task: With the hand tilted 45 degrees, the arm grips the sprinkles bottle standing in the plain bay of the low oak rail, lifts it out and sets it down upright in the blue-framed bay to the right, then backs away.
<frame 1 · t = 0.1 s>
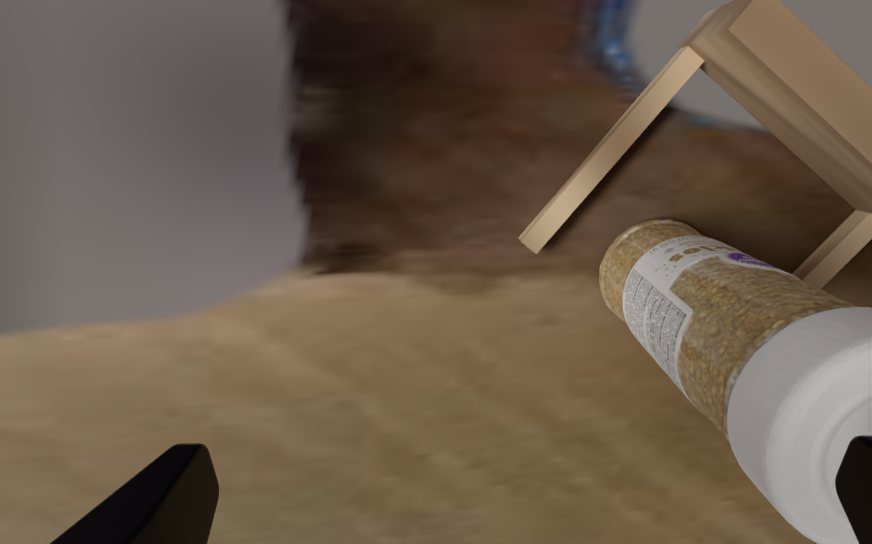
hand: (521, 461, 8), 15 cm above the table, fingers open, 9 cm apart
sprinkles bottle: (650, 272, 23), on the table
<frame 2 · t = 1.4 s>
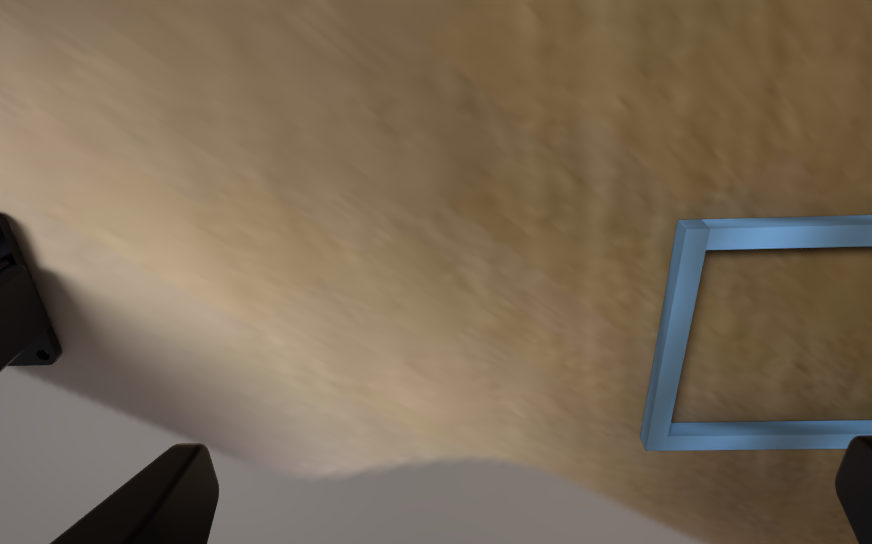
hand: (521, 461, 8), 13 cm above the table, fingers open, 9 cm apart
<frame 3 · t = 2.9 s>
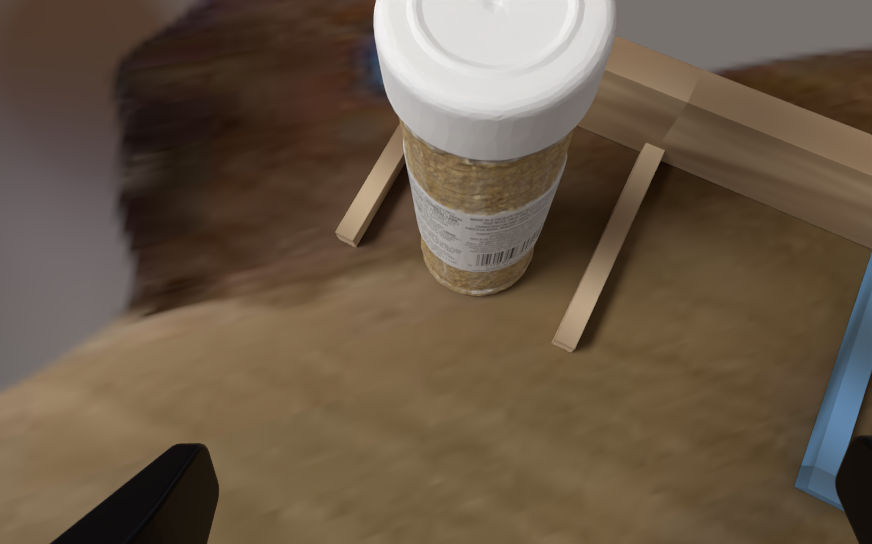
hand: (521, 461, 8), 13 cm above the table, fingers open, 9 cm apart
sprinkles bottle: (475, 247, 24), on the table
bay rail: (768, 188, 24), on the table
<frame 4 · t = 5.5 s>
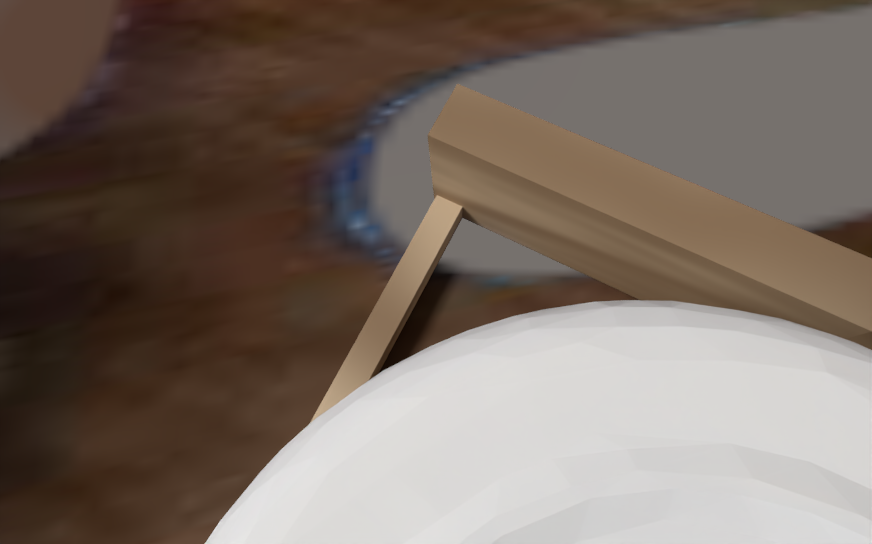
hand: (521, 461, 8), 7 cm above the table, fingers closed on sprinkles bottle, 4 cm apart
sprinkles bottle: (494, 511, 15), on the table, touching gripper
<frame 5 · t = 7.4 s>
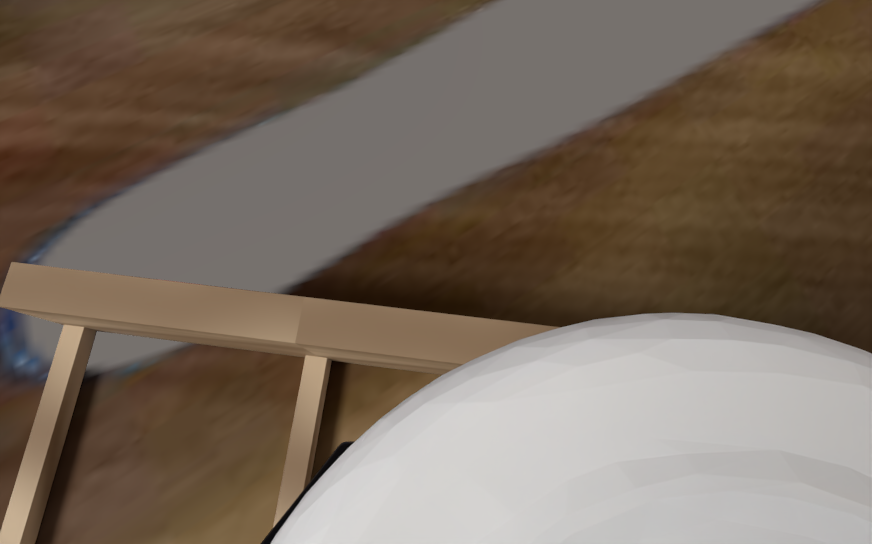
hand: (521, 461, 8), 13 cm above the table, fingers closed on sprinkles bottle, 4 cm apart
sprinkles bottle: (474, 506, 15), point 6 cm above the table, touching gripper
bay rail: (449, 355, 22), on the table
when the fingers open (8 cm above the table, at t = 9.2 s): sprinkles bottle stays where it is, on the table.
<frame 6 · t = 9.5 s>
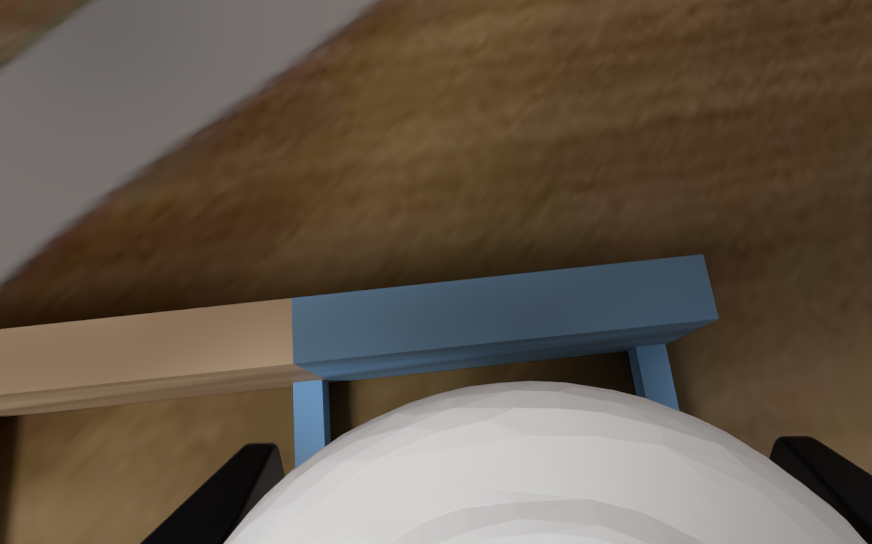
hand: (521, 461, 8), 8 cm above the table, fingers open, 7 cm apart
sprinkles bottle: (477, 513, 16), on the table
bay rail: (150, 375, 17), on the table
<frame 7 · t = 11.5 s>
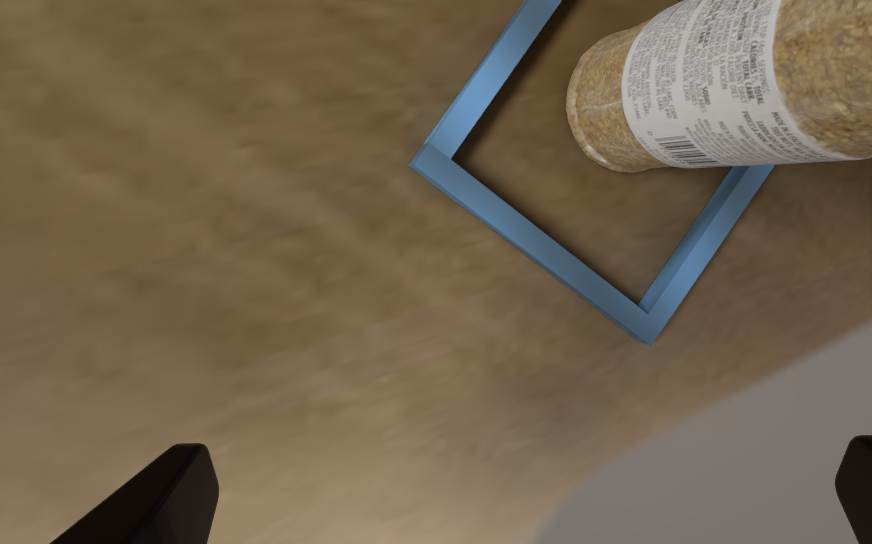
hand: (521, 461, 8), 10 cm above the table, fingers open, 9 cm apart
sprinkles bottle: (619, 105, 19), on the table
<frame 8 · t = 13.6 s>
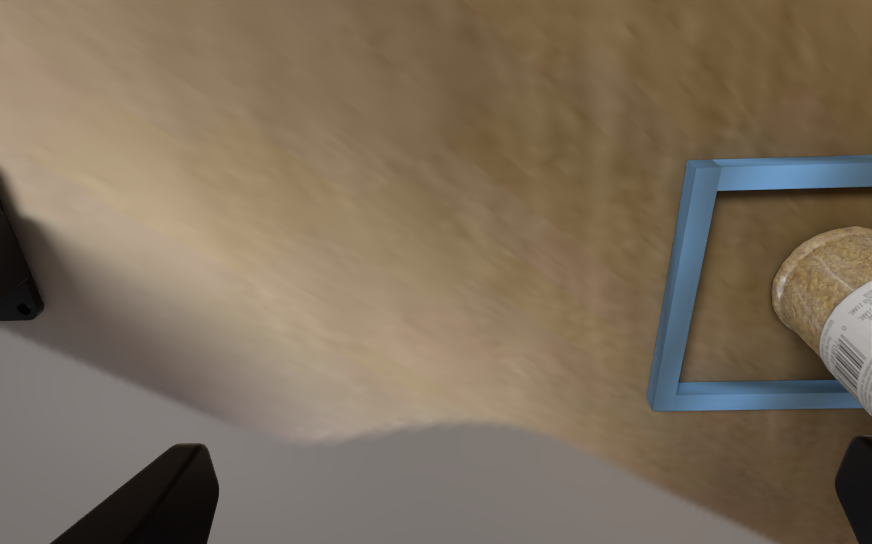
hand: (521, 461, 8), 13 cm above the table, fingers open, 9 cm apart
sprinkles bottle: (826, 275, 22), on the table
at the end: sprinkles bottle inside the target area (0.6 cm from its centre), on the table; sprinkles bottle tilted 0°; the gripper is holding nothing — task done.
